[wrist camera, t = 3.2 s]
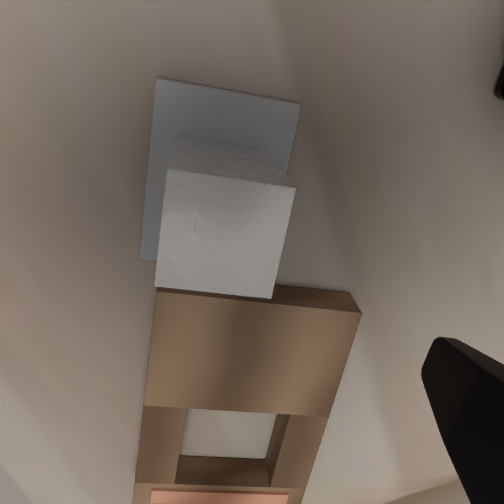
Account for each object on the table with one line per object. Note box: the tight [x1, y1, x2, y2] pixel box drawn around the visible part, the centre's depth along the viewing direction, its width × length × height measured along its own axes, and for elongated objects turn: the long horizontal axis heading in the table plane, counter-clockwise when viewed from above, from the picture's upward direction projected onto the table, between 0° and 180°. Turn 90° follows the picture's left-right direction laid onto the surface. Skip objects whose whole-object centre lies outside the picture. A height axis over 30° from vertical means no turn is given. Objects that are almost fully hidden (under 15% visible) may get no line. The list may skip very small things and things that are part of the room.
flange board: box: [132, 285, 362, 504], centre depth 25 cm, size 10×14×2 cm
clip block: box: [154, 133, 296, 299], centre depth 17 cm, size 4×4×6 cm
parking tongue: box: [139, 77, 301, 262], centre depth 21 cm, size 6×8×1 cm
